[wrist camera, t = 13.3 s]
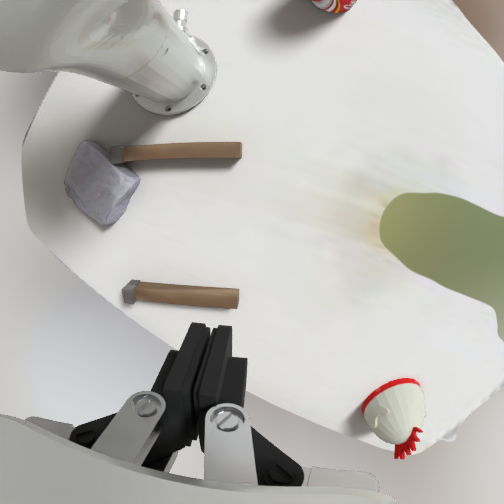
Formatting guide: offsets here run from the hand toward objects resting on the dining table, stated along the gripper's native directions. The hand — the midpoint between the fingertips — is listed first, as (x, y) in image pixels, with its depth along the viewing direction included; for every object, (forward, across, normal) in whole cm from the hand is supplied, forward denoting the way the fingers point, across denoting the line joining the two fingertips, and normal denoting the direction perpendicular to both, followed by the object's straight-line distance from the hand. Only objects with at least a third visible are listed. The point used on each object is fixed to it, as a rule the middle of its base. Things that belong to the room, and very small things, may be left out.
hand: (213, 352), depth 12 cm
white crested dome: (+30, -32, +37) cm, 57 cm away
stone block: (+30, +23, -4) cm, 38 cm away
